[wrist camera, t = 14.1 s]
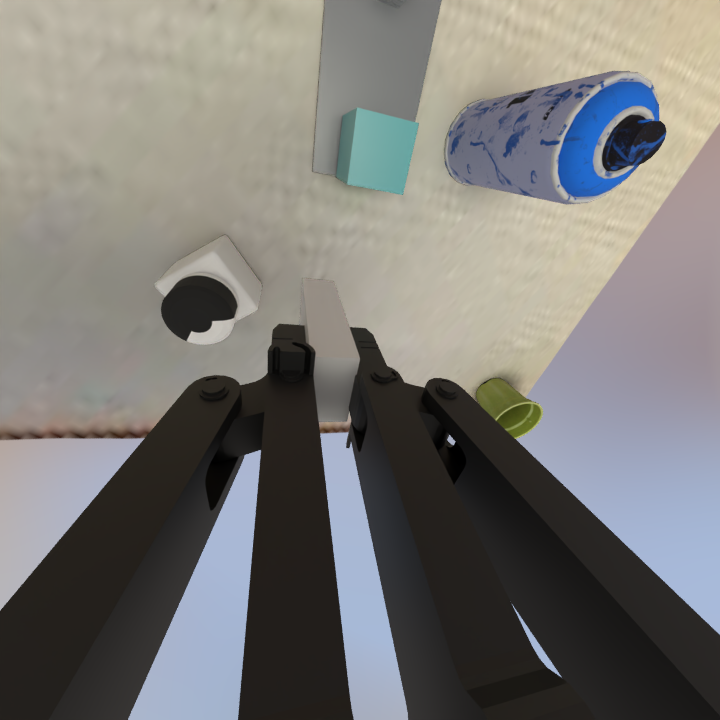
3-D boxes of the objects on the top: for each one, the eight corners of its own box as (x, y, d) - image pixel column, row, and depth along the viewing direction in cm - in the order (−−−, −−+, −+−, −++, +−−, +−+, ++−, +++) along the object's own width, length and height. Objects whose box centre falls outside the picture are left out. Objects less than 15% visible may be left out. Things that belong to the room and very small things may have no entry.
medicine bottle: (174, 262, 35) (130, 307, 25) (226, 233, 34) (201, 267, 24) (216, 311, 39) (193, 365, 29) (263, 285, 38) (255, 332, 28)
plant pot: (461, 409, 60) (484, 443, 53) (475, 371, 54) (503, 404, 48) (502, 405, 62) (529, 438, 55) (520, 369, 56) (552, 400, 50)
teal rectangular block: (335, 177, 32) (347, 184, 26) (342, 115, 29) (357, 107, 23) (381, 185, 33) (402, 194, 27) (392, 127, 30) (418, 123, 24)
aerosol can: (514, 92, 31) (748, 36, 15) (505, 177, 36) (676, 202, 20) (443, 107, 31) (608, 66, 15) (443, 191, 36) (569, 228, 20)
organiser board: (312, 171, 32) (312, 171, 31) (330, -90, 23) (331, -95, 22) (399, 187, 35) (400, 188, 34) (447, -40, 25) (451, -44, 25)
